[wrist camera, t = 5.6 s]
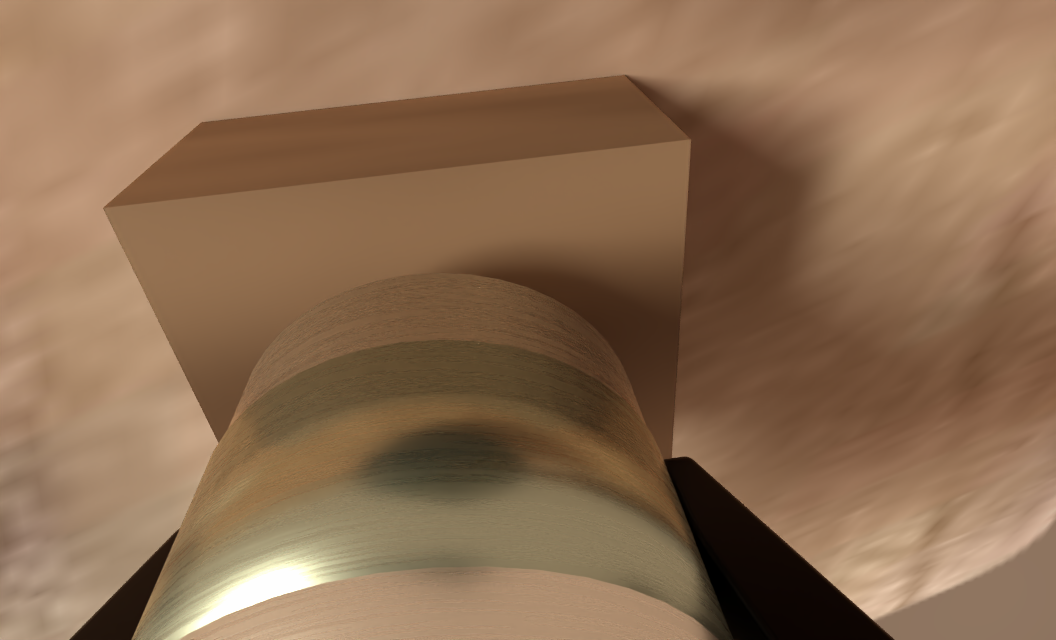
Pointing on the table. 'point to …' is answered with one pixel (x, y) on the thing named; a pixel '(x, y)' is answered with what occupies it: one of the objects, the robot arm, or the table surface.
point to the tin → (436, 484)
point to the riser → (417, 221)
